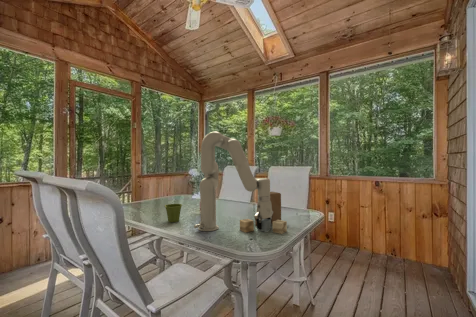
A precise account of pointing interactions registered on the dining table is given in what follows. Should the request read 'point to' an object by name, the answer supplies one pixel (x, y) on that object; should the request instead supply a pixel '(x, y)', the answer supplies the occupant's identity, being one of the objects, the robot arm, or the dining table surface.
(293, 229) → the dining table surface
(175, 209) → the plant pot
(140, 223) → the dining table surface
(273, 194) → the block
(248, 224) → the cube oak
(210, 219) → the robot arm
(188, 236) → the dining table surface
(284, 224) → the cube maple
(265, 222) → the cube slate
